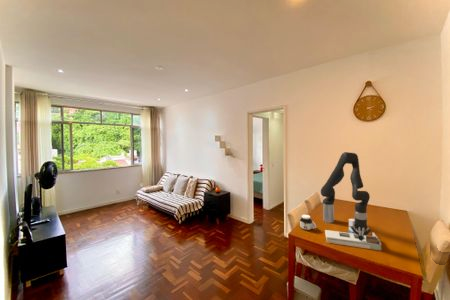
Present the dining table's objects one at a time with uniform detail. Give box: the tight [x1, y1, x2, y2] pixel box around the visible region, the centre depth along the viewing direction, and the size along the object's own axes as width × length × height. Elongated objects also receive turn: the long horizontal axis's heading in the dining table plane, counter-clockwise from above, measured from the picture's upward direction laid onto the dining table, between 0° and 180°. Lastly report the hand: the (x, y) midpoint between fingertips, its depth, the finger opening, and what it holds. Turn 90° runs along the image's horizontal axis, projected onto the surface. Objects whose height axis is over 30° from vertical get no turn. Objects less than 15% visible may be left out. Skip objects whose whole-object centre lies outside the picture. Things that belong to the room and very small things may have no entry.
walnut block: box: [366, 234, 379, 244], centre depth 142 cm, size 6×6×4 cm
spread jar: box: [299, 214, 317, 231], centre depth 173 cm, size 12×11×12 cm
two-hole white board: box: [324, 229, 382, 251], centre depth 150 cm, size 16×34×6 cm, turn 67°
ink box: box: [348, 218, 358, 234], centre depth 160 cm, size 9×5×12 cm, turn 92°
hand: (360, 239), depth 145 cm, fingers closed
